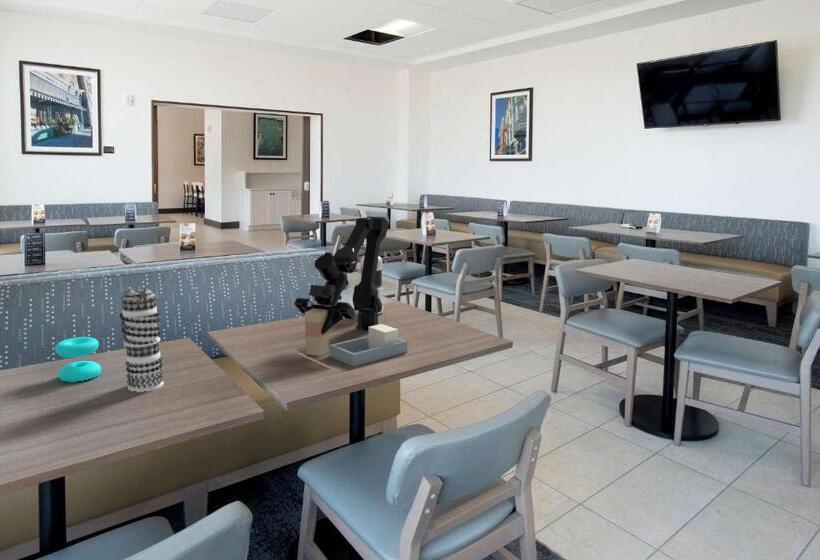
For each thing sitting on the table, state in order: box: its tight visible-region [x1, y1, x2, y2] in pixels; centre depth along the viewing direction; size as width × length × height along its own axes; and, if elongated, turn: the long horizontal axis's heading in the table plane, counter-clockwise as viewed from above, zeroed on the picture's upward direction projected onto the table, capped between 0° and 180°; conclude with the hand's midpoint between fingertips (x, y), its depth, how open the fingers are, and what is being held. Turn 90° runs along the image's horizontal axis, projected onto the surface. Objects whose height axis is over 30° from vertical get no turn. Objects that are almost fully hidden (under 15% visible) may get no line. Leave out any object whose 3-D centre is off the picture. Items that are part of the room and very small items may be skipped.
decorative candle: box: [118, 287, 165, 393], centre depth 146 cm, size 9×9×25 cm
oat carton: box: [304, 309, 330, 357], centre depth 173 cm, size 5×5×13 cm
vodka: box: [359, 254, 385, 316], centre depth 222 cm, size 9×9×30 cm
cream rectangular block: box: [368, 323, 399, 349], centre depth 176 cm, size 5×8×7 cm, turn 42°
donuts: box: [54, 336, 102, 383], centre depth 154 cm, size 10×10×10 cm
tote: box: [328, 335, 408, 367], centre depth 173 cm, size 20×12×4 cm, turn 132°
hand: (314, 332), depth 172 cm, fingers closed on oat carton, 5 cm apart
